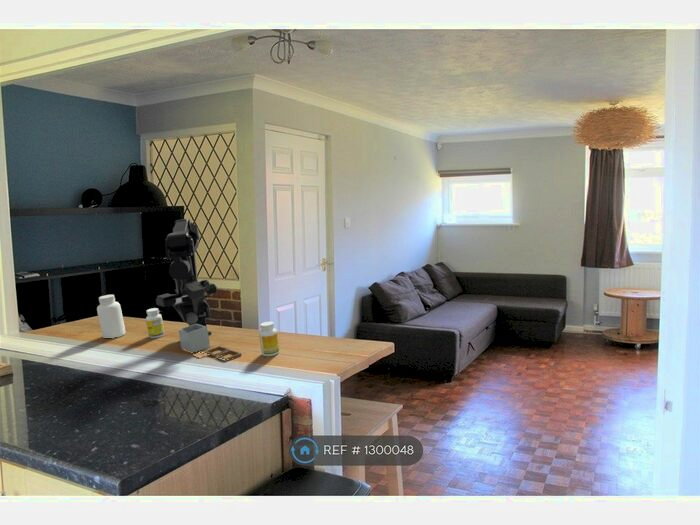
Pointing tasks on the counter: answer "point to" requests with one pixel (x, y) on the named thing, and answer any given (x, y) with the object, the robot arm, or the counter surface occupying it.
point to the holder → (223, 352)
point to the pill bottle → (110, 317)
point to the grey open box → (194, 338)
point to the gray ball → (191, 318)
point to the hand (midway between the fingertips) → (191, 320)
